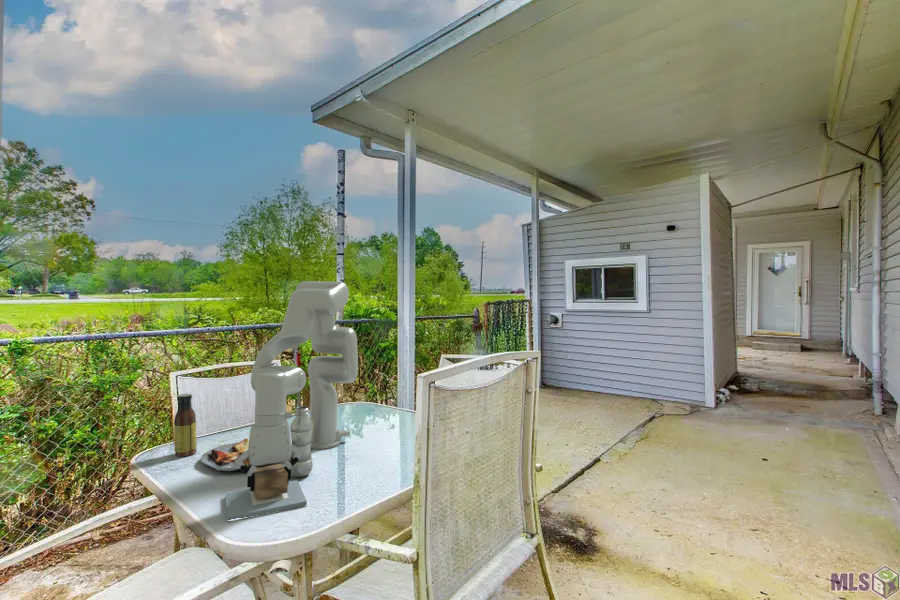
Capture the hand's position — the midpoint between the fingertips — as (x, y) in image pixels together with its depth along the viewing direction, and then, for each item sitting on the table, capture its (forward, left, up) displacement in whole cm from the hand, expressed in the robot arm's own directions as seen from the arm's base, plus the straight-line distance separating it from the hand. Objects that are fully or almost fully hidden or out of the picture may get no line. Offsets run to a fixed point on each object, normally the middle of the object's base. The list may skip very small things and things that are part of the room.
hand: (269, 485), depth 112 cm
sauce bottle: (+21, -46, -4) cm, 51 cm away
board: (+1, +1, -4) cm, 4 cm away
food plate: (+4, -33, -4) cm, 33 cm away
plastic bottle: (-10, -12, -4) cm, 16 cm away
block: (0, 0, -1) cm, 1 cm away
